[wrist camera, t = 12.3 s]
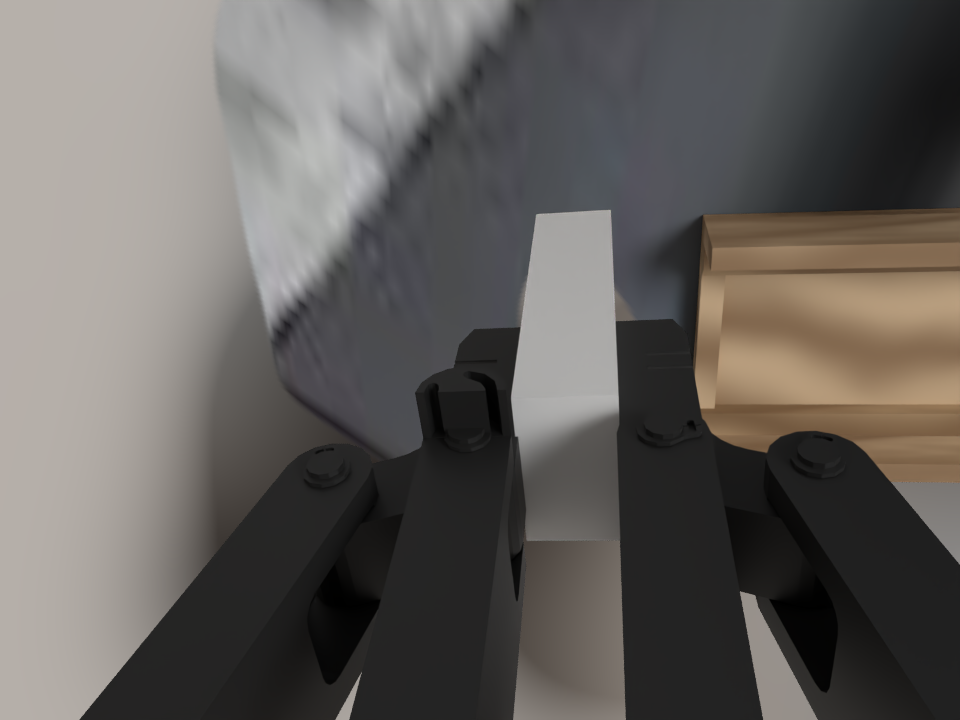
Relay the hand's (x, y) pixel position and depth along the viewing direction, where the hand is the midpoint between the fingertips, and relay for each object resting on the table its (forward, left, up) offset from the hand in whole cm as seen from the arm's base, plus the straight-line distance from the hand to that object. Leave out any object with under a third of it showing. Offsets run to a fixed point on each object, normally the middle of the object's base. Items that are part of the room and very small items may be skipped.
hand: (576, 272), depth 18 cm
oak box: (+17, +14, -26) cm, 34 cm away
